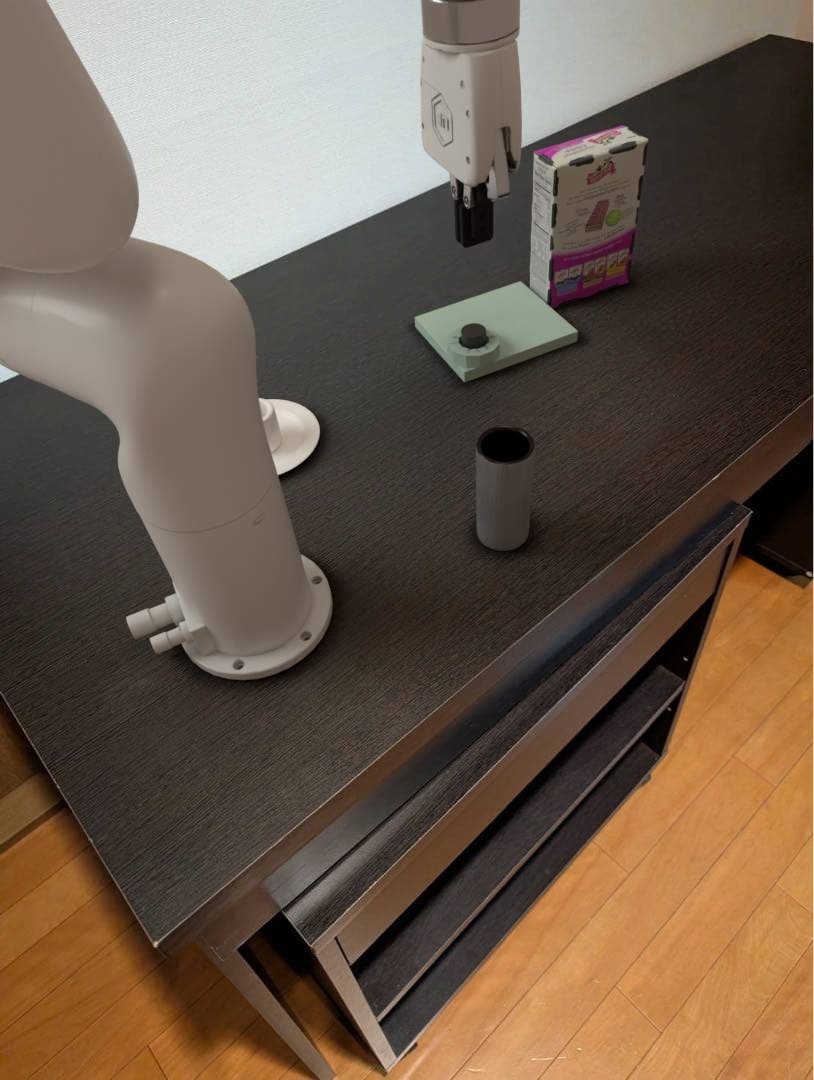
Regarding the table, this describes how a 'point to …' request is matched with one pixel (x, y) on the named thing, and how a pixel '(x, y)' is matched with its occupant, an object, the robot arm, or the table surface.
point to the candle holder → (289, 432)
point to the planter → (504, 486)
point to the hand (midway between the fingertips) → (474, 240)
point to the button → (473, 336)
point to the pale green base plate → (496, 330)
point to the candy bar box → (585, 214)
